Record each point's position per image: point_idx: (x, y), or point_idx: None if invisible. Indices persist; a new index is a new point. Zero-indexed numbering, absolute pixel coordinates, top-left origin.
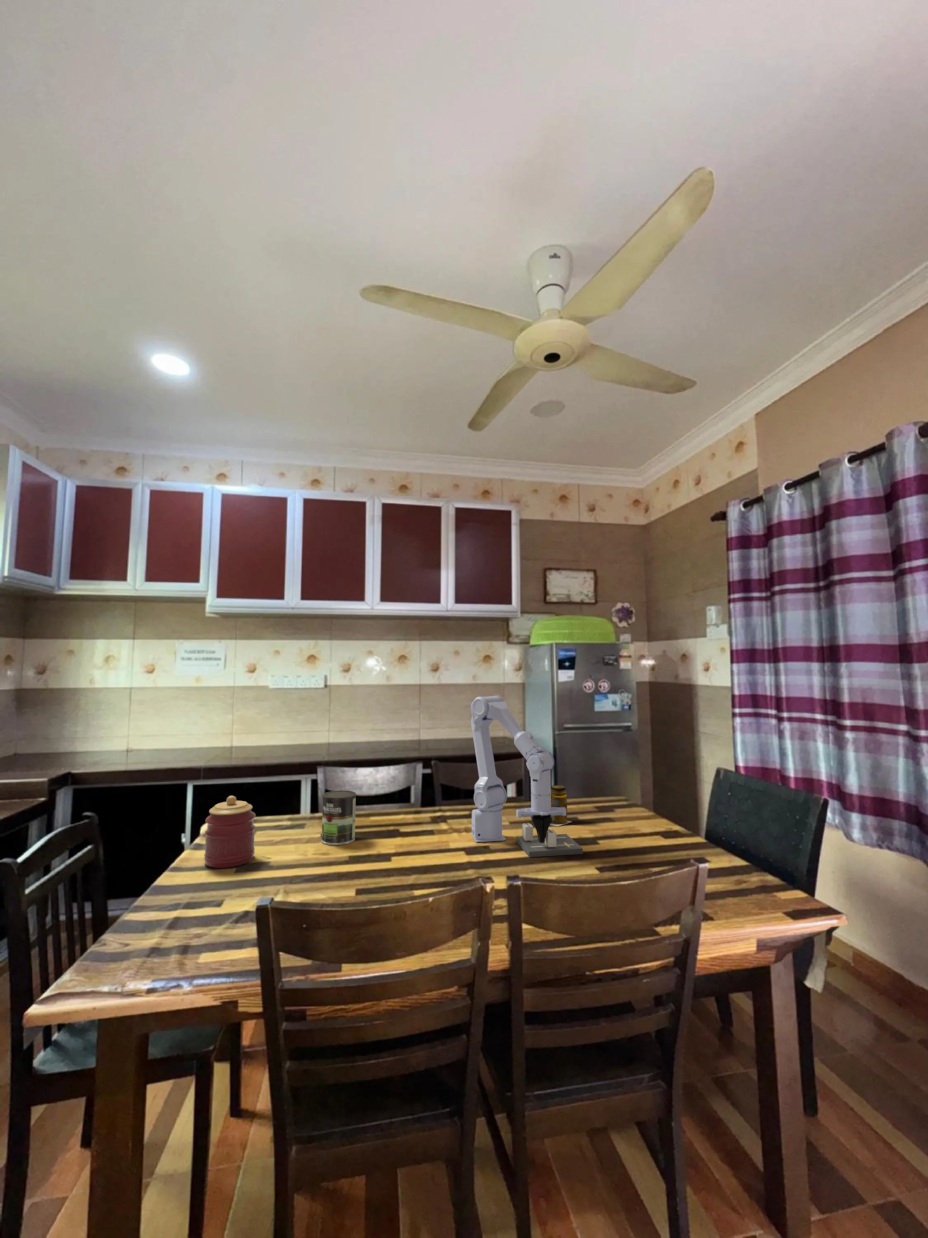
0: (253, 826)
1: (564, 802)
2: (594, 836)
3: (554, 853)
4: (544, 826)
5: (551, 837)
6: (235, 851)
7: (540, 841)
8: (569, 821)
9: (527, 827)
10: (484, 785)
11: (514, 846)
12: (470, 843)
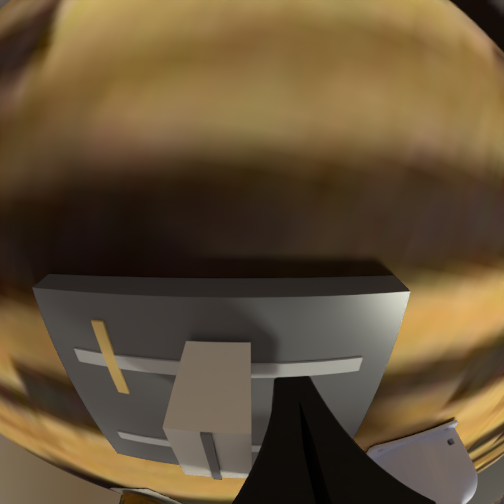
0: None
1: None
2: (39, 415)
3: (217, 284)
4: (305, 492)
5: (217, 398)
6: None
7: (312, 383)
8: (117, 491)
9: None
10: None
11: (373, 411)
12: (468, 411)
